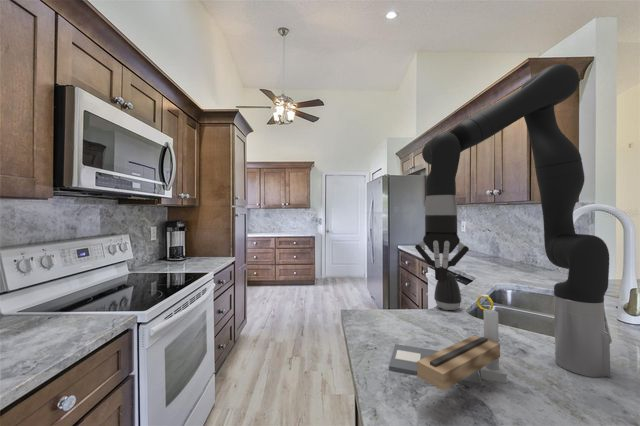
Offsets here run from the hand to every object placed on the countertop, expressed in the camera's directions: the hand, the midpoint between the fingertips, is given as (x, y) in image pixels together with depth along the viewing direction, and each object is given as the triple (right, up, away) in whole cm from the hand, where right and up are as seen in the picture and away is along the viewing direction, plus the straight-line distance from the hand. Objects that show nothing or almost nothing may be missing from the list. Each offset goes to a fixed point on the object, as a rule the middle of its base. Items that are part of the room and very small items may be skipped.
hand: (441, 282), depth 71 cm
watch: (+37, -22, +43) cm, 61 cm away
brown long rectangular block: (-1, -15, -11) cm, 19 cm away
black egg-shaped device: (+22, -22, +45) cm, 55 cm away
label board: (+1, -21, -1) cm, 21 cm away
